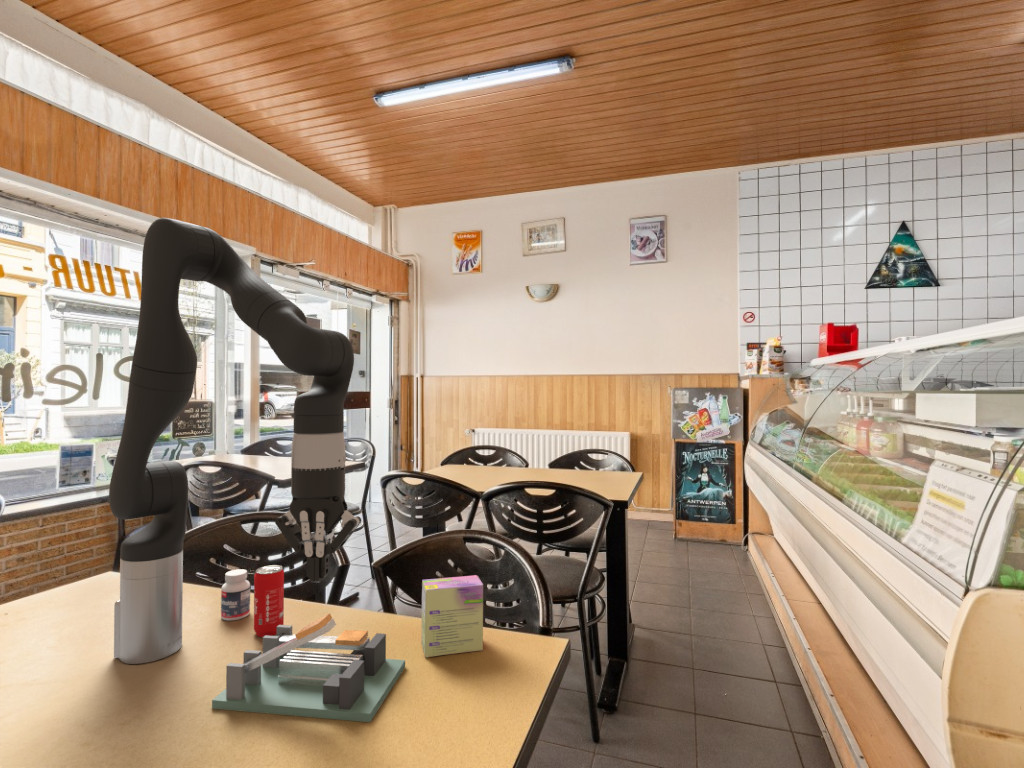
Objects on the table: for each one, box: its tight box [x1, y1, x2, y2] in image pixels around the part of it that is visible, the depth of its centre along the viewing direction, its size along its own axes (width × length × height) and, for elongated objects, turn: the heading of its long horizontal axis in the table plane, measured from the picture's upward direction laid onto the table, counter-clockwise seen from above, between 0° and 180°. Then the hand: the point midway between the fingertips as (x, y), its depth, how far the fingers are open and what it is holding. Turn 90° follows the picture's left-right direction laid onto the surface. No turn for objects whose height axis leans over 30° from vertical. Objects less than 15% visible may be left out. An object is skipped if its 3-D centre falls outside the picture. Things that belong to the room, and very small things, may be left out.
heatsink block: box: [278, 649, 363, 687], centre depth 84 cm, size 12×4×3 cm, turn 83°
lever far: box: [278, 629, 371, 651], centre depth 89 cm, size 16×4×2 cm, turn 83°
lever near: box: [244, 613, 337, 673], centre depth 80 cm, size 16×4×2 cm, turn 83°
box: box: [420, 574, 484, 658], centre depth 97 cm, size 10×6×12 cm, turn 106°
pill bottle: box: [220, 568, 251, 622], centre depth 110 cm, size 5×5×9 cm
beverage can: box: [253, 564, 285, 638], centre depth 103 cm, size 5×5×12 cm
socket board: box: [211, 624, 406, 723], centre depth 84 cm, size 24×15×6 cm, turn 83°
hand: (318, 580), depth 80 cm, fingers closed
